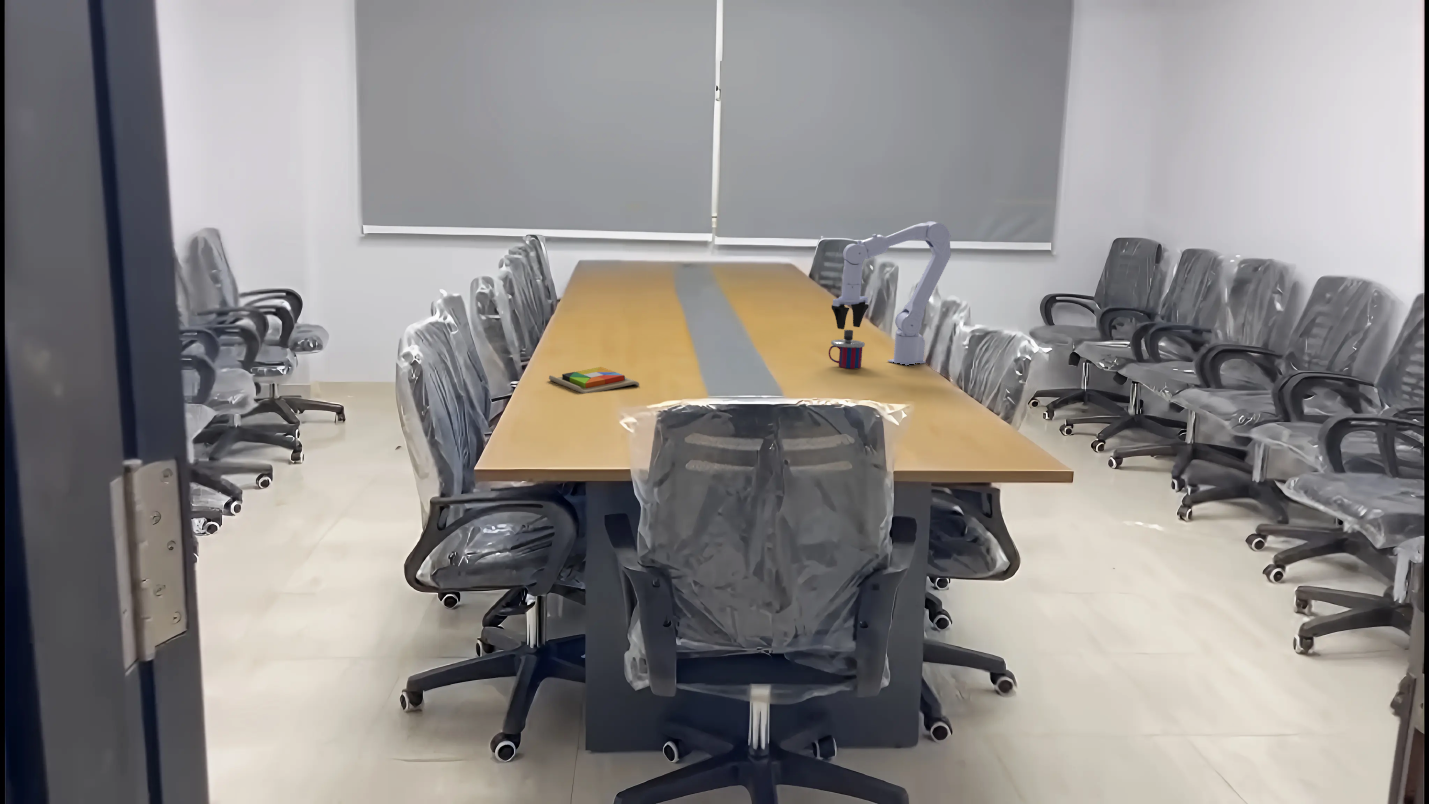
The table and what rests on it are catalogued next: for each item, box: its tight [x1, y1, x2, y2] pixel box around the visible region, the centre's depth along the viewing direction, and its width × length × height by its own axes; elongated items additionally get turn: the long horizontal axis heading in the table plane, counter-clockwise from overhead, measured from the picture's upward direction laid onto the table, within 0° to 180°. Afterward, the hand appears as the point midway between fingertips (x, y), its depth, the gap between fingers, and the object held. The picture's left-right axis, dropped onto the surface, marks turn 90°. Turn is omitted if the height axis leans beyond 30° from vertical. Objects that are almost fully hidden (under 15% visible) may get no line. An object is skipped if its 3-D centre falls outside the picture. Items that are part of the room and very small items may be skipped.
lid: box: [830, 329, 865, 348], centre depth 325 cm, size 10×10×4 cm
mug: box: [828, 345, 863, 370], centre depth 327 cm, size 7×10×7 cm
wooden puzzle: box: [548, 366, 640, 394], centre depth 290 cm, size 18×19×4 cm
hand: (848, 327), depth 334 cm, fingers open, 7 cm apart
